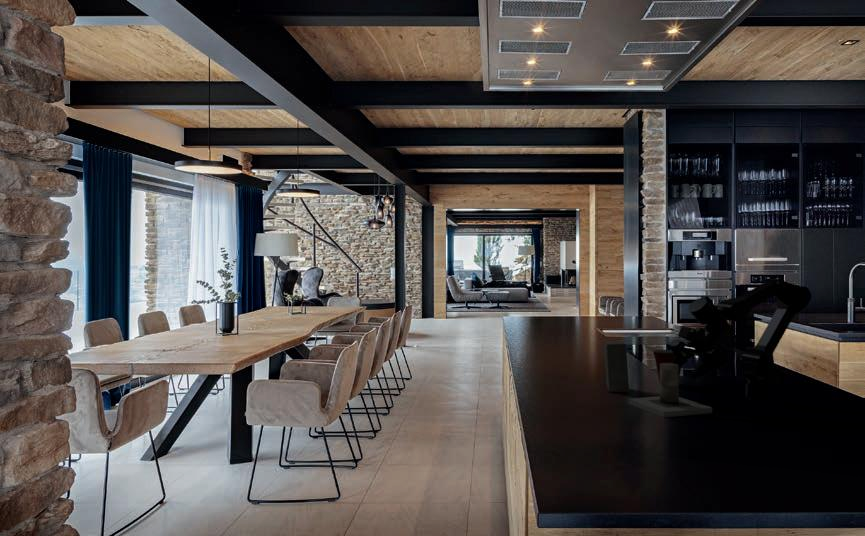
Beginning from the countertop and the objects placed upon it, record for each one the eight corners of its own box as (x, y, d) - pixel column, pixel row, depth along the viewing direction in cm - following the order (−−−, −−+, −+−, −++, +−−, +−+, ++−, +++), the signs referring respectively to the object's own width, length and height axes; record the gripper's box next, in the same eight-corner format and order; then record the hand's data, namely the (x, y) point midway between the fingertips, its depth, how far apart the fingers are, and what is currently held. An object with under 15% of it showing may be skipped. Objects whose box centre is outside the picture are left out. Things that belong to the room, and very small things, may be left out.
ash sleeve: (681, 402, 169) (681, 364, 169) (673, 405, 166) (673, 366, 166) (665, 399, 173) (665, 362, 173) (656, 402, 170) (656, 364, 170)
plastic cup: (685, 382, 206) (685, 348, 206) (686, 388, 196) (686, 352, 196) (652, 380, 210) (652, 346, 210) (651, 386, 200) (651, 351, 200)
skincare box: (629, 393, 189) (629, 344, 189) (606, 392, 191) (606, 343, 191) (626, 387, 198) (626, 340, 198) (604, 386, 199) (604, 340, 199)
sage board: (673, 400, 180) (673, 394, 179) (712, 413, 164) (712, 406, 164) (628, 403, 175) (628, 398, 175) (663, 417, 160) (663, 411, 160)
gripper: (673, 314, 181) (643, 351, 178) (719, 319, 163) (686, 361, 160) (695, 338, 183) (665, 375, 180) (742, 346, 165) (710, 388, 162)
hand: (680, 374), depth 171 cm, fingers open, 9 cm apart
